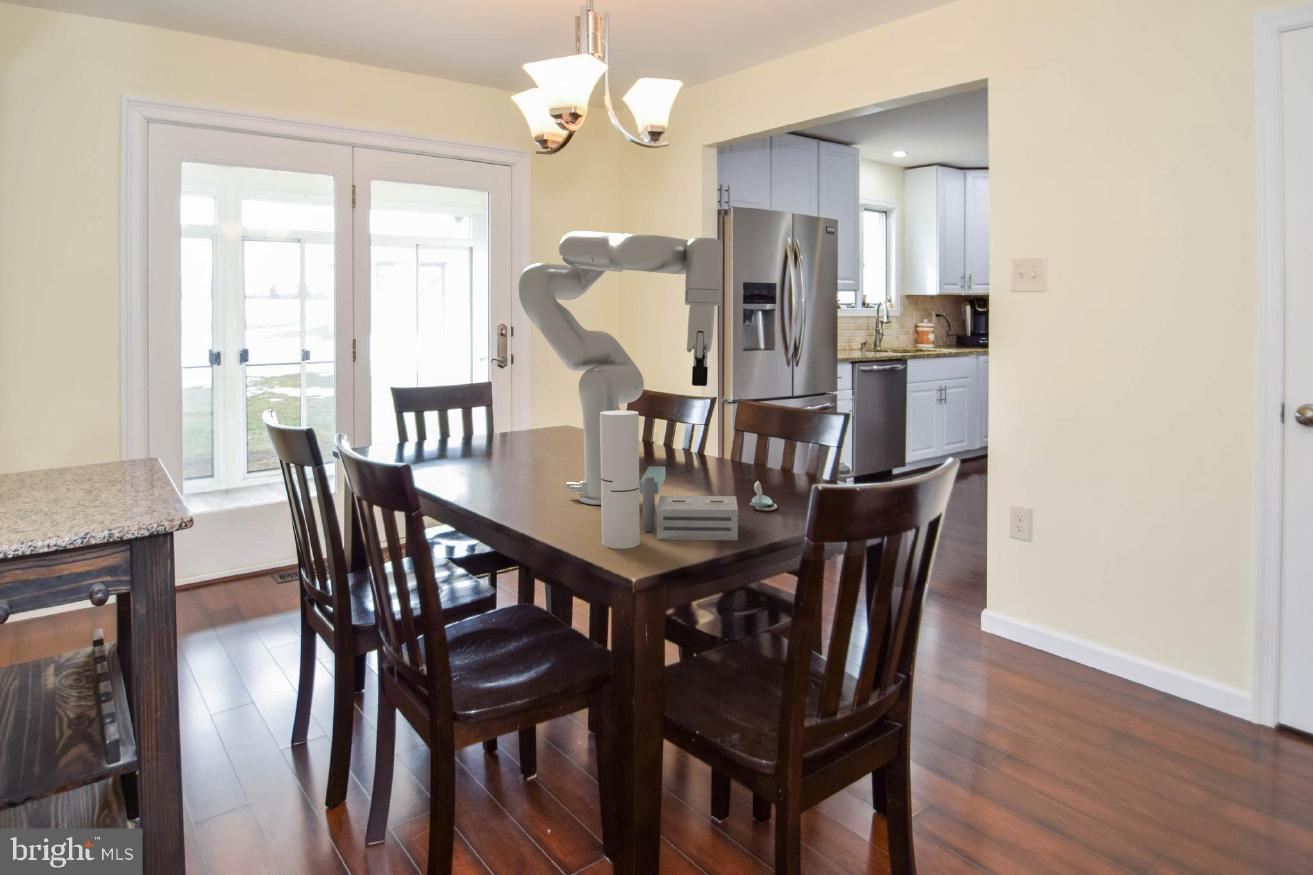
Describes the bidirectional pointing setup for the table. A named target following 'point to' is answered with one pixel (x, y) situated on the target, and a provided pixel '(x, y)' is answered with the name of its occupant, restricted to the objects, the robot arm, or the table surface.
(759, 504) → the pacifier
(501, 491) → the table surface
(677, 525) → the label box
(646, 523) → the swing bar
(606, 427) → the cylindrical container
